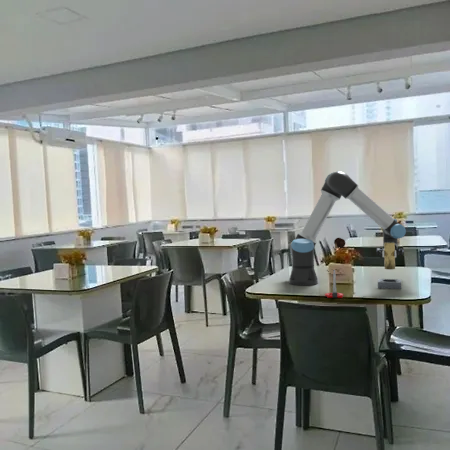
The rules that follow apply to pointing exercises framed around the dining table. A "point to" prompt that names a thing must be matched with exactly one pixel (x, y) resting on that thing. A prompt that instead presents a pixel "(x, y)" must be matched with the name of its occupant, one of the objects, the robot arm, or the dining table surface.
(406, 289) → the dining table surface
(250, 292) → the dining table surface
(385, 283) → the jig
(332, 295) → the grey spike red base
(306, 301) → the dining table surface
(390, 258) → the golden tall block
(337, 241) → the dark brown rounded piece
